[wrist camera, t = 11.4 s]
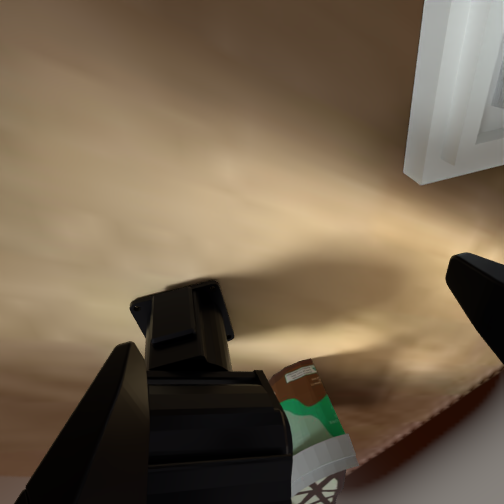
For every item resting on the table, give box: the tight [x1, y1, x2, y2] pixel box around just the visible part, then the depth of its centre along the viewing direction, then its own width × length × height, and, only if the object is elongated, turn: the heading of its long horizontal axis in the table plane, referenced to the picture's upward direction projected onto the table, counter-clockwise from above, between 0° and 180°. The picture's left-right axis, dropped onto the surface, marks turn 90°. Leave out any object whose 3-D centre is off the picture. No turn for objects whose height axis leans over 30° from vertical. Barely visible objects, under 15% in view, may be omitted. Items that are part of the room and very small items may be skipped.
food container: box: [268, 359, 359, 504], centre depth 31 cm, size 12×6×10 cm, turn 2°
